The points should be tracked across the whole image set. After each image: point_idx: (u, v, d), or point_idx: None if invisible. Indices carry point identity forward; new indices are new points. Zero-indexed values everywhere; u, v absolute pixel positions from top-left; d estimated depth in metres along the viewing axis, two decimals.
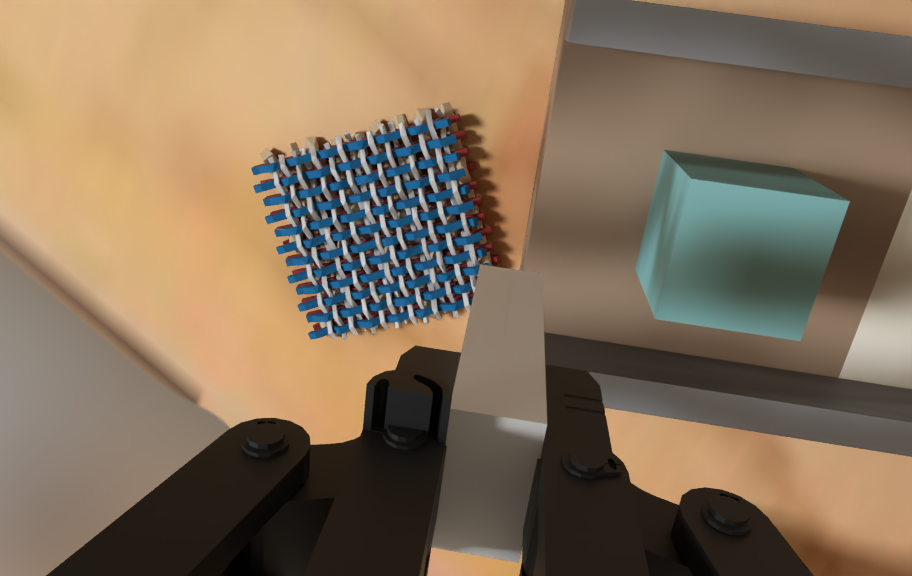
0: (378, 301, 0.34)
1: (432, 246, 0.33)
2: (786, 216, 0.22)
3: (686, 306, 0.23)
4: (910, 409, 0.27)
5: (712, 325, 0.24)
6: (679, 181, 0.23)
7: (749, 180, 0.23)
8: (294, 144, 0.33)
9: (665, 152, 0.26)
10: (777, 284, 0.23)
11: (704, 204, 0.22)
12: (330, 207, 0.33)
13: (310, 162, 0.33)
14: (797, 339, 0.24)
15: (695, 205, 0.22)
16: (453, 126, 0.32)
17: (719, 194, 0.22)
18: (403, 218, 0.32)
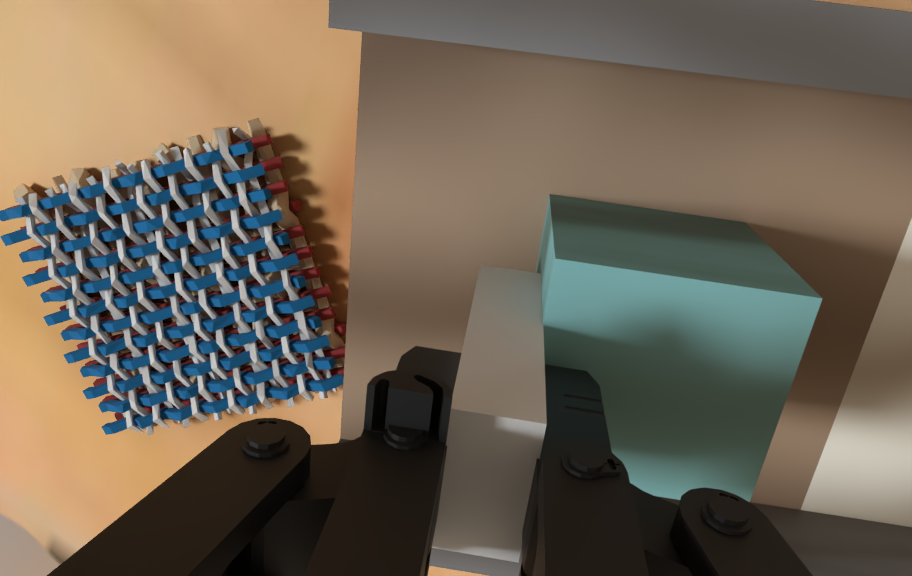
0: (188, 385, 0.26)
1: (247, 315, 0.24)
2: (717, 320, 0.13)
3: None
4: (903, 569, 0.18)
5: None
6: (549, 254, 0.14)
7: (660, 255, 0.14)
8: (59, 178, 0.24)
9: (549, 198, 0.17)
10: (707, 426, 0.14)
11: (581, 300, 0.13)
12: (105, 264, 0.24)
13: None
14: None
15: (564, 301, 0.13)
16: (265, 151, 0.23)
17: (604, 283, 0.13)
18: (205, 277, 0.24)
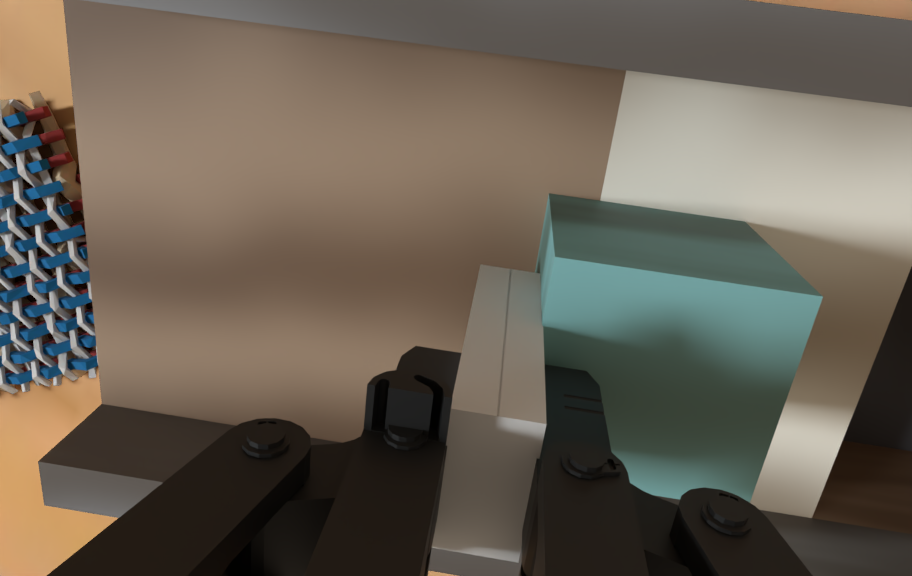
0: None
1: (39, 285, 0.24)
2: (718, 318, 0.13)
3: None
4: None
5: None
6: (549, 253, 0.14)
7: (660, 254, 0.14)
8: None
9: (549, 198, 0.17)
10: (706, 425, 0.14)
11: (581, 298, 0.13)
12: None
13: None
14: None
15: (564, 299, 0.13)
16: (49, 123, 0.23)
17: (603, 282, 0.13)
18: None
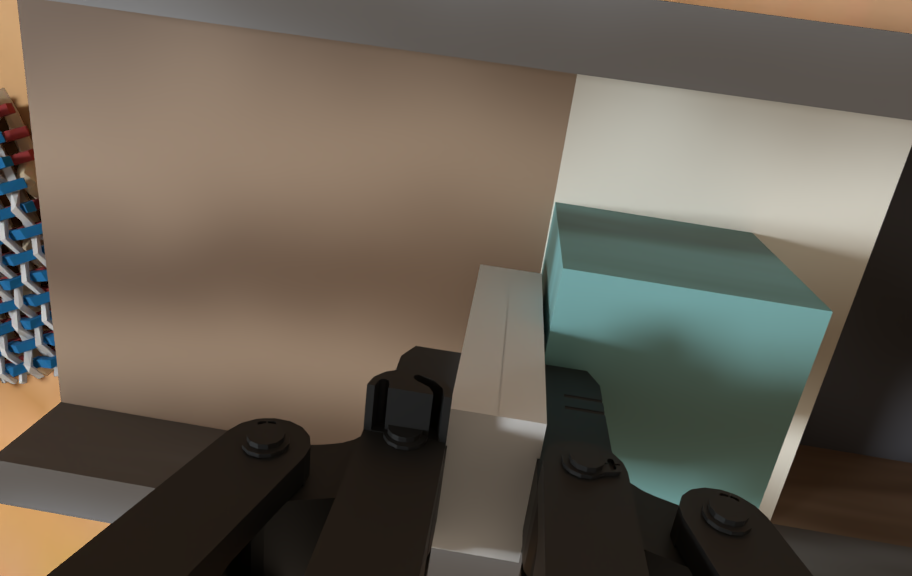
0: None
1: (3, 283, 0.24)
2: (726, 332, 0.13)
3: None
4: None
5: None
6: (556, 263, 0.14)
7: (668, 266, 0.14)
8: None
9: (555, 206, 0.17)
10: (713, 438, 0.14)
11: (588, 310, 0.13)
12: None
13: None
14: None
15: (572, 311, 0.13)
16: (14, 120, 0.23)
17: (612, 294, 0.13)
18: None
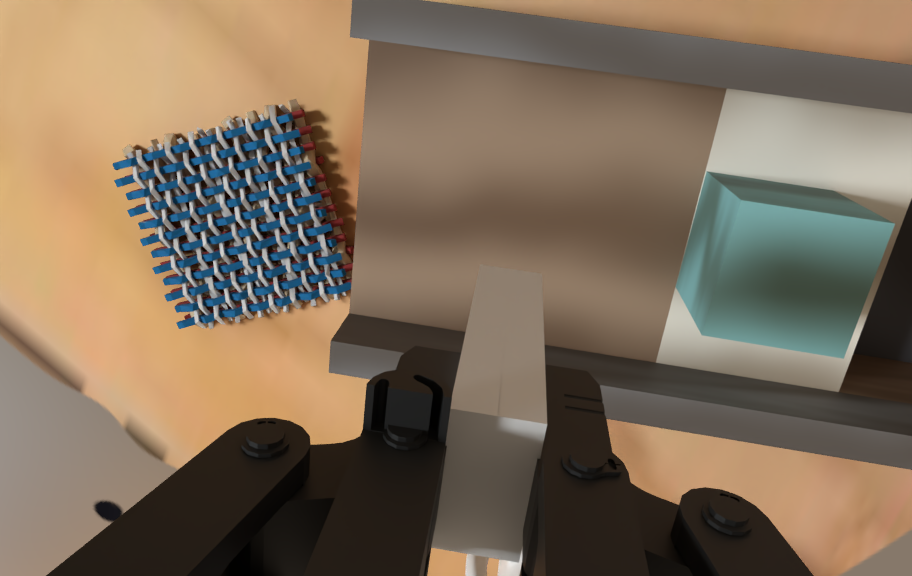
0: (240, 291, 0.36)
1: (285, 237, 0.34)
2: (833, 237, 0.23)
3: (732, 323, 0.24)
4: (712, 391, 0.29)
5: (757, 342, 0.24)
6: (726, 202, 0.24)
7: (795, 202, 0.24)
8: (155, 140, 0.35)
9: (708, 173, 0.27)
10: (822, 303, 0.24)
11: (753, 225, 0.23)
12: (186, 200, 0.34)
13: (168, 157, 0.34)
14: (840, 356, 0.24)
15: (744, 225, 0.23)
16: (300, 121, 0.33)
17: (768, 215, 0.23)
18: (256, 209, 0.34)
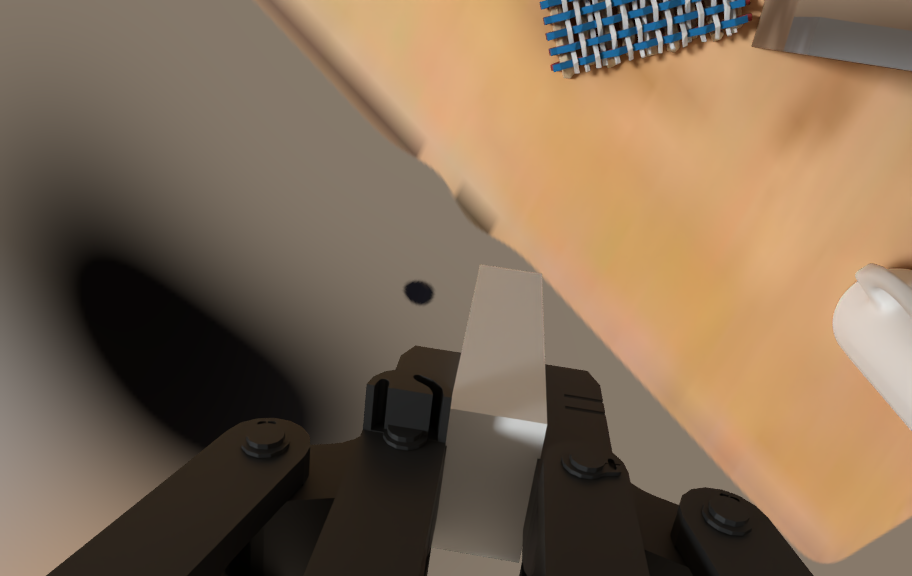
0: (627, 28, 0.35)
1: None
2: None
3: None
4: None
5: None
6: None
7: None
8: None
9: None
10: None
11: None
12: None
13: None
14: None
15: None
16: None
17: None
18: None
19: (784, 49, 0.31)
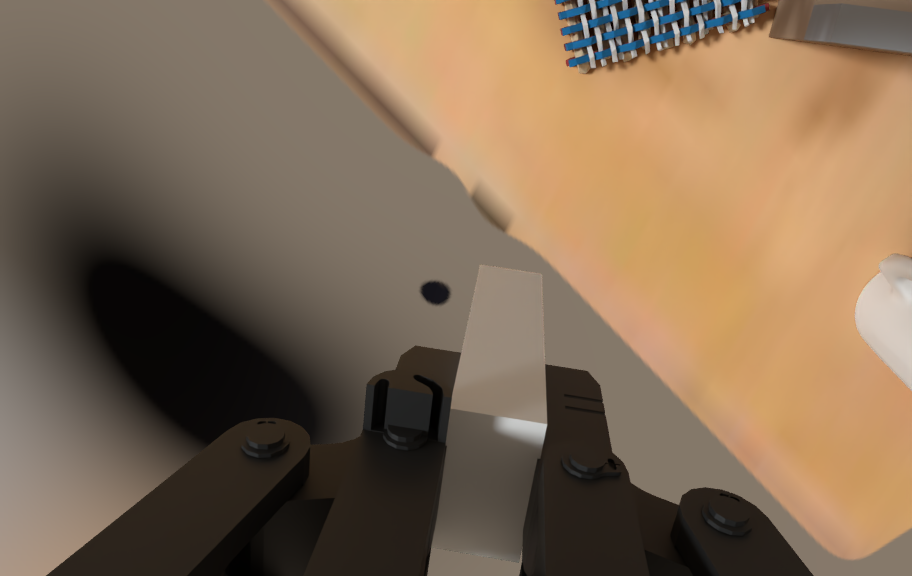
0: (643, 20, 0.35)
1: None
2: None
3: None
4: None
5: None
6: None
7: None
8: None
9: None
10: None
11: None
12: None
13: None
14: None
15: None
16: None
17: None
18: None
19: (804, 38, 0.31)
